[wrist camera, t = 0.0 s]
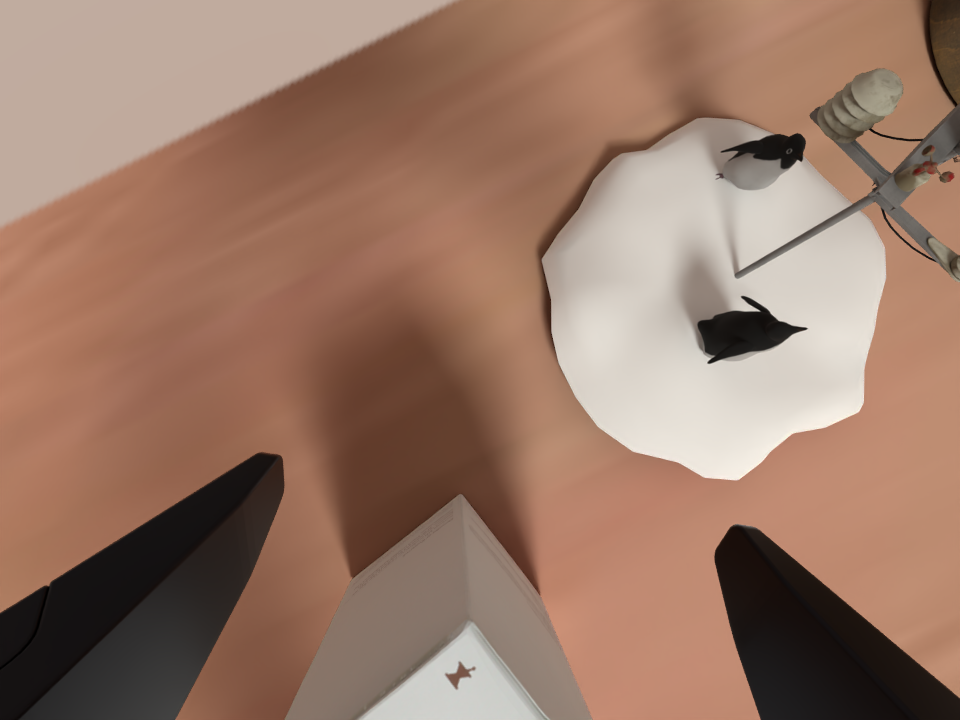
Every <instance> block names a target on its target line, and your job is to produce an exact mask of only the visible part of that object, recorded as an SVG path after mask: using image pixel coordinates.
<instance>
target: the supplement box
mask: <svg viewBox="0 0 960 720" xmlns="http://www.w3.org/2000/svg"><path fill="white" fill-rule="evenodd" d="M284 720H593V719H592V717H591V715H590V712H589V710H588V708H587V705H586V703H585V701H584V698H583V696H582V694H581V691H580V689H579V687H578V684H577V682H576V679H575V677H574V675H573V672H572V670H571V668H570V665H569V663H568V661H567V658H566V656H565V654H564V651H563V649H562V646H561V644H560V642H559V639H558V637H557V635H556V632H555V630H554V628H553V625H552V623H551V620H550V618H549V615H548V612H547V610H546V608H545V605H544V603H543V600H542V598H541V597H540V595H539V594H538V592H537V591H536V590H535V588H534V587H533V585H532V584H531V583H530V581H529V580H528V579H527V577H526V576H525V575H524V573H523V572H522V571H521V569H520V568H519V567H518V566H517V564H516V563H515V562H514V560H513V559H512V558H511V556H510V555H509V554H508V553H507V551H506V550H505V549H504V547H503V546H502V545H501V544H500V542H499V541H498V540H497V538H496V537H495V536H494V535H493V533H492V532H491V531H490V529H489V528H488V527H487V526H486V524H485V523H484V522H483V520H482V519H481V518H480V517H479V515H478V514H477V513H476V511H475V510H474V509H473V508H472V506H471V505H470V504H469V503H468V501H467V500H466V499H465V497H464V496H463V495H462V494H459V495H458V496H456V497H455V498H454V499H453V500H451V501H450V502H449V503H448V504H446V505H445V506H444V507H442V508H441V509H440V510H439V511H437V512H436V513H435V514H434V515H433V516H431V517H430V518H429V519H428V520H426V521H425V522H424V523H422V524H421V525H420V526H418V527H417V528H416V529H415V530H414V531H412V532H411V533H410V534H409V535H407V536H406V537H405V538H403V539H402V540H401V541H400V542H398V543H397V544H396V545H395V546H393V547H392V548H391V549H390V550H388V551H387V552H386V553H384V554H383V555H382V556H381V557H379V558H378V559H377V560H376V561H374V562H373V563H372V564H370V565H369V566H368V567H367V568H365V569H364V570H363V571H362V572H360V573H359V574H358V575H357V576H355V577H354V578H353V579H352V580H351V582H350V584H349V586H348V588H347V590H346V592H345V594H344V597H343V599H342V601H341V602H340V605H339V607H338V609H337V611H336V613H335V615H334V617H333V619H332V621H331V624H330V626H329V628H328V630H327V632H326V634H325V636H324V638H323V640H322V642H321V644H320V646H319V649H318V651H317V653H316V655H315V657H314V659H313V661H312V663H311V665H310V667H309V669H308V671H307V673H306V675H305V677H304V679H303V681H302V684H301V686H300V688H299V690H298V692H297V694H296V696H295V698H294V700H293V703H292V705H291V707H290V709H289V711H288V713H287V715H286V717H285V719H284Z"/></svg>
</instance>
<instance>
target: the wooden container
mask: <svg viewBox="0 0 960 720" xmlns="http://www.w3.org/2000/svg"><path fill="white" fill-rule="evenodd" d="M930 38H931V45H932V50H933V54H934V57H935V61H936V64H937V68H938V70H939V73H940V75H941V77H942V79H943V82H944V84H945V86H946V88H947V89H948V91H949V93H950V94H951V96H952V97H953V99H954V100H955V102H956V103H957V104H959V103H960V0H932V4H931V10H930Z"/></svg>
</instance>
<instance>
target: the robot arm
mask: <svg viewBox="0 0 960 720" xmlns="http://www.w3.org/2000/svg"><path fill="white" fill-rule="evenodd" d="M283 493H284V470H283V459H282V457H281V456H280V455H277V454H270V453H264V452H260V453H257V454H255V455H253V456H252V457H250V458H249V459H247V460H245V461H244V462H242V463H241V464H239V465H237V466H236V467H234V468H233V469H231V470H229V471H228V472H226V473H225V474H223V475H221V476H220V477H218V478H217V479H215V480H213V481H212V482H210V483H209V484H207V485H205V486H204V487H202V488H200V489H199V490H197V491H196V492H194V493H192V494H191V495H189V496H188V497H186V498H184V499H183V500H181V501H180V502H178V503H176V504H175V505H173V506H172V507H170V508H168V509H167V510H165V511H164V512H162V513H160V514H159V515H157V516H156V517H154V518H152V519H151V520H149V521H148V522H146V523H144V524H143V525H141V526H140V527H138V528H136V529H135V530H133V531H132V532H130V533H128V534H127V535H125V536H123V537H122V538H120V539H119V540H117V541H115V542H114V543H112V544H111V545H109V546H107V547H106V548H104V549H103V550H101V551H99V552H98V553H96V554H95V555H93V556H91V557H90V558H88V559H87V560H85V561H83V562H82V563H80V564H79V565H77V566H75V567H74V568H72V569H71V570H69V571H67V572H66V573H64V574H63V575H61V576H59V577H58V578H56V579H55V580H53V581H52V582H51V583H50V585H49V586H43V587H41V588H40V589H38V590H37V591H35V592H33V593H32V594H30V595H29V596H27V597H25V598H24V599H22V600H21V601H19V602H17V603H16V604H14V605H12V606H11V607H9V608H7V609H6V610H4V611H2V612H1V613H0V720H175V719H176V717H177V715H178V713H179V711H180V710H181V708H182V706H183V704H184V702H185V700H186V698H187V696H188V694H189V692H190V691H191V689H192V687H193V685H194V683H195V681H196V679H197V677H198V675H199V674H200V672H201V670H202V668H203V666H204V664H205V662H206V660H207V658H208V656H209V655H210V653H211V651H212V649H213V647H214V645H215V643H216V641H217V639H218V638H219V636H220V634H221V632H222V630H223V628H224V626H225V624H226V622H227V620H228V619H229V617H230V615H231V613H232V611H233V609H234V607H235V605H236V603H237V601H238V600H239V598H240V596H241V594H242V592H243V590H244V588H245V586H246V584H247V582H248V580H249V578H250V576H251V574H252V572H253V569H254V567H255V565H256V562H257V560H258V557H259V555H260V552H261V550H262V547H263V545H264V542H265V540H266V537H267V535H268V532H269V530H270V527H271V525H272V522H273V520H274V517H275V515H276V512H277V510H278V507H279V504H280V502H281V499H282V497H283ZM714 558H715V565H716V569H717V573H718V577H719V582H720V586H721V590H722V594H723V598H724V602H725V606H726V611H727V615H728V619H729V623H730V627H731V631H732V634H733V638H734V642H735V645H736V648H737V651H738V654H739V657H740V660H741V663H742V666H743V669H744V672H745V675H746V678H747V681H748V683H749V686H750V689H751V692H752V695H753V698H754V701H755V704H756V707H757V710H758V713H759V716H760V719H761V720H960V698H959V697H958V696H956V695H955V694H954V693H953V692H952V691H951V690H949V689H948V688H947V687H946V686H945V685H943V684H942V683H941V682H940V681H939V680H937V679H936V678H935V677H934V676H933V675H931V674H930V673H929V672H928V671H927V670H926V669H924V668H923V667H922V666H921V665H920V664H918V663H917V662H916V661H915V660H914V659H912V658H911V657H910V656H909V655H908V654H906V653H905V652H904V651H903V650H902V649H901V648H899V647H898V646H897V645H896V644H895V643H893V642H892V641H891V640H890V639H889V638H887V637H886V636H885V635H884V634H883V633H881V632H880V631H879V630H878V629H877V628H875V627H874V626H873V625H872V624H871V623H870V622H868V621H867V620H866V619H865V618H864V617H862V616H861V615H860V614H859V613H858V612H856V611H855V610H854V609H853V608H852V607H850V606H849V605H848V604H847V603H846V602H845V601H843V600H842V599H841V598H840V597H839V596H837V595H836V594H835V593H834V592H833V591H831V590H830V589H829V588H828V587H827V586H825V585H824V584H823V583H822V582H821V581H820V580H818V579H817V578H816V577H815V576H814V575H812V574H811V573H810V572H809V571H808V570H806V569H805V568H804V567H803V566H802V565H800V564H799V563H798V562H797V561H796V560H795V559H793V558H792V557H791V556H790V555H789V554H787V553H786V552H785V551H784V550H783V549H781V548H780V547H779V546H778V545H777V544H775V543H774V542H773V541H772V540H771V539H770V538H768V537H767V536H766V535H765V534H764V533H762V532H761V531H760V530H759V529H757V528H755V527H752V526H746V525H739V524H735V525H733V526H731V527H730V528H729V530H728V531H727V533H726V535H725V536H724V538H723V539H722V541H721V542H720V544H719V545H718V547H717V548H716V551H715V556H714Z"/></svg>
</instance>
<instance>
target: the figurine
mask: <svg viewBox="0 0 960 720" xmlns="http://www.w3.org/2000/svg"><path fill="white" fill-rule="evenodd" d="M902 94H903V84H902V82H901V79H900V78H899V77H898V76H897V75H896V74H895V73H894V72H892V71H890V70H887V69H875V70H872V71H869V72H867V73H861V74H859V75H857V76H855V78H854V79H853V81H852V82H850V83H848V84H846V86H845V87H844V89H843V90H841V91H839V92H837V93H836V95H835V96H834V98H832V99H830V100H828V101H827V103H826V104H825V105H823V106H821V107H817V108H816V109H815V110H814V111H813V112H812V113H811V114H810V115H809V116H810V118H811V119H812V120H813V121H814V122H815V123H816V124H817V125H818V126H819V127H820V128H821V130H822V131H823V132H824V134H825V135H826V136H828V137H829V138H830V139H832V140H833V141H834V142H835V143H836V144H837V145H838V146H839V147H840V148H841V149H842V150H843V151H844V152H845V153H846V154H847V155H848V156H849V157H850V158H851V159H852V160H853V161H854V162H855V163H856V164H857V165H858V166H859V167H860V168H861V169H862V170H863V171H864V172H865V173H866V174H867V175H868V176H869V177H870V178H871V179H872V180H873V181H874V184H876V186H877V187H875V188H874V189H872V190H873V191H872V192H870V193H869V194H868V196H866V197H864V198H862V199H861V200H859V201H857V202H856V203H854V204H852V203H851V202H850V201H849V200H848V199H847V198H846V197H844V196H843V195H842V194H841V193H840V192H839V191H838V190H837V189H836V188H835V187H834V186H832V185H831V184H830V183H829V182H828V181H827V180H826V179H825V178H824V177H823V176H821V175H820V173H819V172H818V171H817V170H816V169H815V168H814V167H813V166H812V165H811V164H810V162H809V161H808V160H807V159H806V158H805V157H804V156H803V152H804V149H805V144H806V141H805V138H804V137H803V136H802V135H801V134H798V133H797V134H794V135H792V136H790V137H788V136H785V135H781V134H773V133H771V132H769V131H766V130H764V129H761V128H759V127H756V126H754V125H751V124H749V123H746V122H744V121H741V120H736V119H721V118H697V119H695V120H693V121H692V122H690V123H688V124H686V125H684V126H683V127H681V128H679V129H677V130H676V131H674V132H672V133H670V134H668V135H667V136H666V137H664V138H663V139H661V140H660V141H659V142H657V143H656V144H654V145H653V146H652V147H650V148H649V149H647V150H643V151H636V152H629V153H621V154H620V155H618V156H617V157H615V158H614V159H612V161H611V162H610V163H609V164H608V165H607V166H606V167H605V168H604V169H603V170H602V171H601V172H600V173H599V174H598V175H597V176H596V178H595V179H594V180H593V182H592V184H591V186H590V188H589V190H588V192H587V194H586V196H585V198H584V200H583V201H582V203H581V205H580V207H579V209H578V210H577V211H576V213H575V214H574V215H573V216H572V217H571V219H570V220H569V221H568V222H567V224H566V225H565V226H564V227H563V228H562V230H561V231H560V232H559V233H558V235H557V236H556V238H555V239H554V241H553V242H552V244H551V246H550V247H549V249H548V250H547V252H546V253H545V255H544V257H543V258H542V264H543V268H544V272H545V276H546V280H547V285H548V289H549V293H550V297H551V328H552V337H553V341H554V345H555V350H556V354H557V358H558V363H559V365H560V367H561V369H562V371H563V373H564V375H565V377H566V379H567V381H568V383H569V385H570V387H571V389H572V391H573V393H574V395H575V397H576V398H577V400H578V401H579V402H580V404H581V405H582V406H583V408H584V409H585V410H586V412H587V413H588V414H589V416H590V417H591V418H592V420H593V421H594V422H595V424H596V425H597V426H598V427H599V428H600V429H601V430H603V431H604V432H606V433H607V434H609V435H610V436H611V437H613V438H614V439H616V440H617V441H619V442H620V443H621V444H623V445H624V446H626V447H627V448H629V449H630V450H631V451H633V452H637V453H641V454H645V455H649V456H654V457H658V458H662V459H666V460H670V461H674V462H678V463H680V464H682V465H683V466H685V467H687V468H689V469H690V470H692V471H694V472H696V473H697V474H699V475H701V476H703V477H704V478H715V479H727V480H739V479H740V478H742V477H743V476H744V475H746V474H747V473H748V472H749V471H751V470H752V469H753V468H755V467H756V466H757V465H759V464H760V463H761V462H762V461H763V460H764V459H765V458H766V456H767V455H768V454H769V453H770V452H771V451H772V450H773V449H774V448H775V447H777V446H778V445H779V444H780V443H782V442H783V441H784V440H785V439H786V438H788V437H789V436H790V435H791V434H792V433H797V432H803V431H809V430H814V429H820V428H825V427H827V426H829V425H832V424H834V423H836V422H838V421H840V420H843V419H845V418H847V417H849V416H851V415H854V414H856V413H858V412H859V411H860V409H861V407H862V405H863V403H864V367H865V363H866V358H867V355H868V351H869V348H870V344H871V341H872V337H873V334H874V329H875V323H876V317H877V311H878V306H879V302H880V298H881V295H882V291H883V287H884V284H885V280H886V261H885V247H884V245H883V243H882V241H881V239H880V237H879V235H878V233H877V231H876V229H875V227H874V225H873V223H872V221H871V219H870V218H869V217H867V216H866V215H865V214H864V213H863V212H862V211H860V210H861V209H863V208H865V207H866V206H868V205H870V204H872V203H873V202H876V203H877V204H878V205H879V206H880V207H881V210H882V213H883V216H884V219H885V220H886V222H887V224H888V225H889V227H890V228H891V229H892V230H893V231H894V232H895V233H896V235H897V236H898V237H899V238H900V239H902V240H903V241H904V242H905V243H906V244H907V245H909V246H910V247H911V248H912V249H913V250H915V251H917V252H918V253H920V254H922V255H923V256H925V257H926V258H928V259H930V260H932V261H935V262H937V263H938V264H939V265H940V266H941V267H942V268H943V269H945V270H946V271H947V272H948V273H949V275H950V276H951V277H952V278H953V279H954V280H955V281H957V282H960V256H959V255H957V254H956V253H955V252H953V251H952V250H950V249H949V248H948V247H946V246H945V245H943V244H942V243H941V242H939V241H938V240H937V239H936V238H935V237H934V236H932V235H931V234H930V233H929V232H928V231H927V230H926V229H925V228H924V227H923V226H922V225H921V224H919V223H918V222H917V221H916V220H915V219H914V218H913V217H912V216H911V215H910V214H909V213H908V212H906V211H905V210H904V209H903V208H902V207H901V206H900V205H901V204H902V203H903V201H904V200H905V199H906V198H907V197H908V196H909V195H910V194H911V193H912V192H913V191H914V190H915V189H916V188H917V187H918V186H920V185H922V184H924V183H926V182H927V181H928V180H929V178H930V175H932V174H935V173H936V172H937V173H938V174H939V175H940V177H939V178H940V181H942V182H944V183H946V182H950V181H951V180H952V179H953V178H954V174H953V173H952V172H949V171H948V172H944V173H943V174H942V175H941V174H940V172H939V171H938V170H937V166H939V165H940V164H942V163H944V162H946V161H947V160H949V159H951V158H953V157H954V156H956V155H960V103H959V104H958V105H957V106H956V107H955V108H954V109H953V110H952V111H951V112H950V113H949V114H948V115H947V116H946V117H945V118H944V119H943V120H942V121H941V122H940V123H939V124H938V125H937V126H936V127H935V128H934V129H933V130H932V131H931V132H930V133H929V134H928V135H927V136H926V137H925V138H924V139H904V138H896V137H891V136H887V135H882V134H880V133H878V132H875V131H874V130H872V129H871V128H872V127H873V125H874V124H875V123H878V122H880V121H881V120H883V119H884V117H885V116H887V115H889V114H891V113H893V111H894V110H895V108H896V106H897V103H898V101H899V99H900V98H901V96H902ZM867 130H870V131H872V132H873V133H875V134H877V135H879V136H882V137H886V138H891V139H896V140H903V141H921V142H920V144H919V145H918V146H917V147H916V148H915V149H914V150H913V151H912V152H911V153H910V154H909V155H908V156H907V157H906V159H905V160H904V161H903V162H902V163H901V164H900V165H899V166H898V167H897V168H896V169H895V170H894V171H893V172H892V174H891V173H890V172H888V171H887V170H885V169H884V168H883V167H882V166H881V165H880V164H879V163H878V162H877V161H876V160H875V159H874V158H873V157H872V156H871V155H870V154H869V153H868V152H867V151H866V150H865V149H864V148H863V147H862V146H861V145H860V144H859V143H858V142H857V141H856V138H857V137H859V136H861V135H863V133H864V131H867ZM957 157H959V156H957ZM957 157H956V158H957ZM956 158H955V159H956ZM953 159H954V158H953ZM955 159H954V162H955ZM957 160H958V159H957ZM959 160H960V159H959ZM959 160H958V161H959ZM958 161H957V162H958ZM874 184H873V185H874ZM873 185H872V186H873ZM884 211H885V212H886V213H887V214H888V215H889V216H891V217H892V218H893V219H894V220H895V221H896V222H897V223H898V224H899V225H900V226H901V227H902V228H903V229H904V230H905V231H906V232H907V233H908V234H909V235H910V236H911V237H912V238H913V239H914V240H915V241H916V242H917V243H918V244H919V245H920V246H921V247H922V248H923V249H924V250H925V251H926V252H927V253H928V254H929V255H930V256H931V257H932V258H933V259H932V258H930V257H928V256H926V255H925V254H923V253H922V252H920V251H918V250H917V249H915V248H914V247H913V246H911V245H910V244H909V243H908V242H907V241H906V240H904V239H903V238H902V237H901V236H900V235H899V234H898V233H897V232H896V231H895V230H894V228H893V227H892V226H891V224H890V223H889V221H888V220H887V218H886V215H885V212H884Z"/></svg>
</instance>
